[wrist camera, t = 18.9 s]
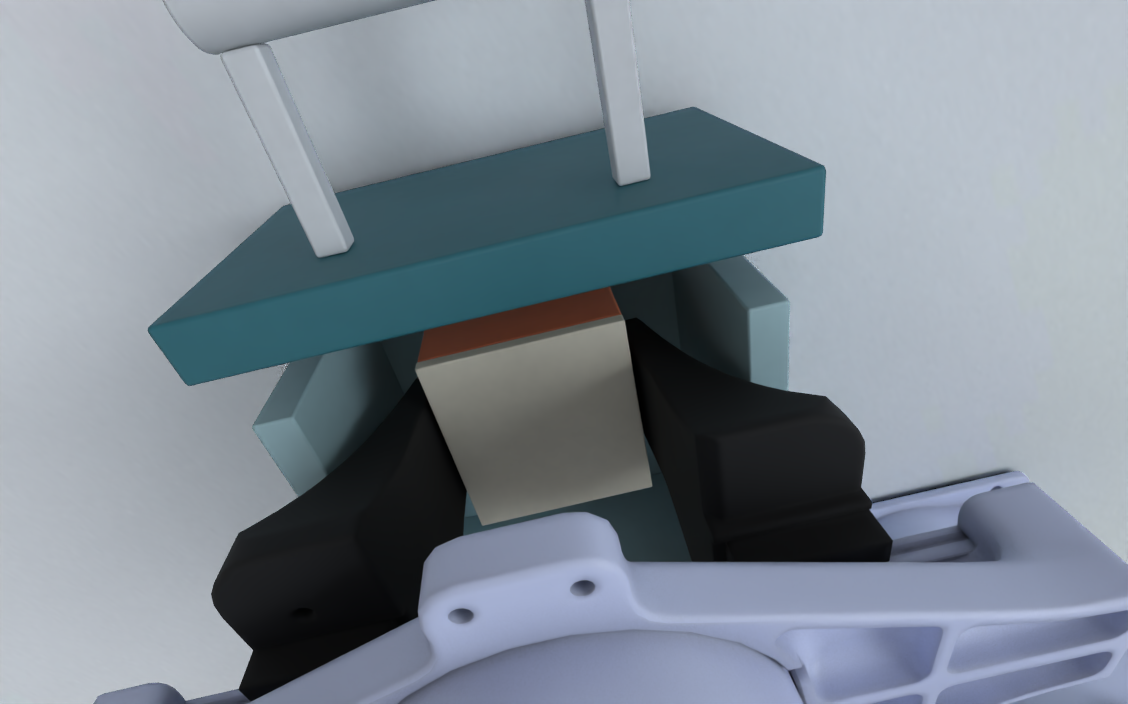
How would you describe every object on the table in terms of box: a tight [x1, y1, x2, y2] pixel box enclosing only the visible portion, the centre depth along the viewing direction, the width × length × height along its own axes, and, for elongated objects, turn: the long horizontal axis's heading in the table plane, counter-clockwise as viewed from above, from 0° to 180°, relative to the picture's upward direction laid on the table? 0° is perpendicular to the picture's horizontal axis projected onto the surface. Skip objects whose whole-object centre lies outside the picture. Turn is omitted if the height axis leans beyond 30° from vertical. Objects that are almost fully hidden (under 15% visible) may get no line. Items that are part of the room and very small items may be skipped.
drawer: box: [148, 0, 826, 562], centre depth 13 cm, size 17×11×7 cm, turn 12°
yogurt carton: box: [415, 287, 652, 526], centre depth 14 cm, size 5×4×4 cm
